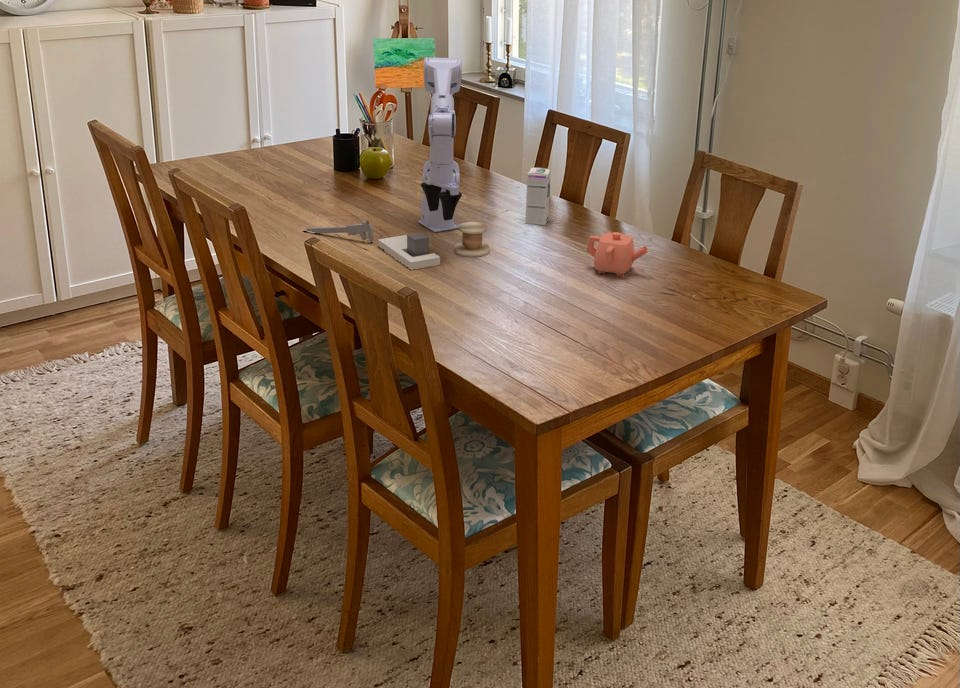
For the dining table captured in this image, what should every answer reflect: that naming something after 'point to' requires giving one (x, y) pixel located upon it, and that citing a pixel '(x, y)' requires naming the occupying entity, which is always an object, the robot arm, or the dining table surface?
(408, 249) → the block
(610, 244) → the teapot
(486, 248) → the bobbin
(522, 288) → the dining table surface
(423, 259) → the notched board
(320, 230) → the caliper
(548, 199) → the syrup box
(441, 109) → the robot arm
